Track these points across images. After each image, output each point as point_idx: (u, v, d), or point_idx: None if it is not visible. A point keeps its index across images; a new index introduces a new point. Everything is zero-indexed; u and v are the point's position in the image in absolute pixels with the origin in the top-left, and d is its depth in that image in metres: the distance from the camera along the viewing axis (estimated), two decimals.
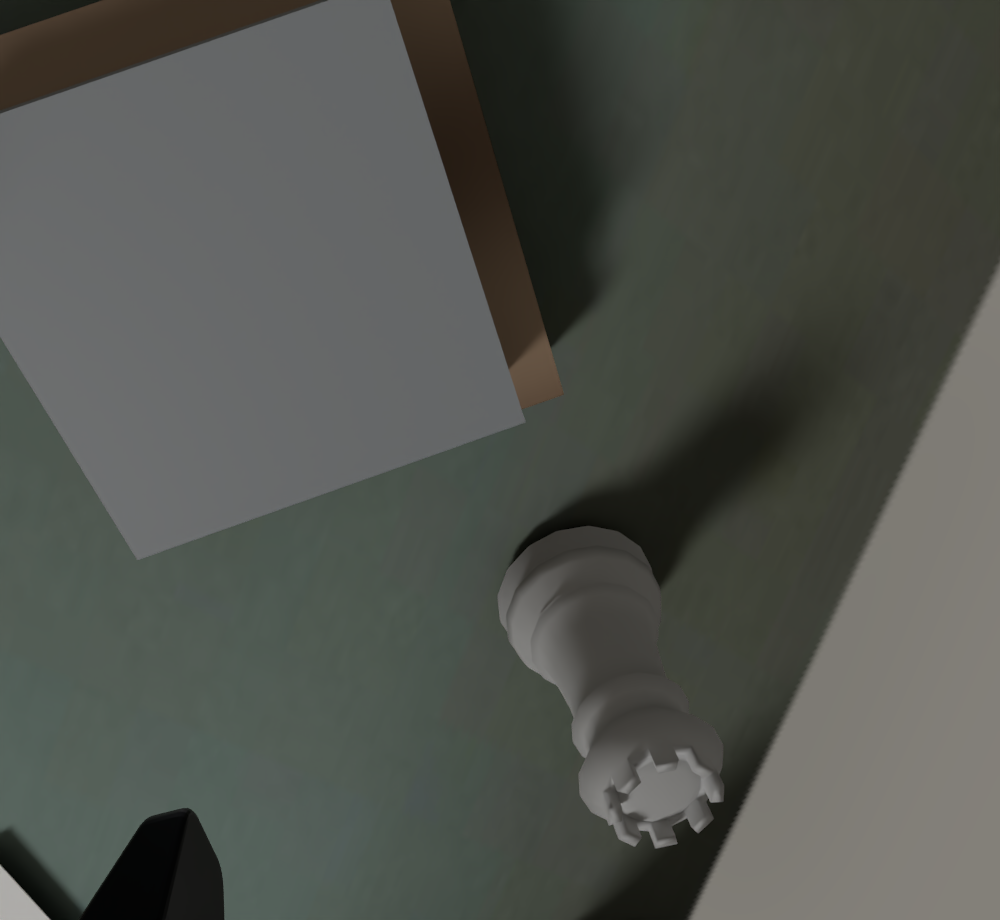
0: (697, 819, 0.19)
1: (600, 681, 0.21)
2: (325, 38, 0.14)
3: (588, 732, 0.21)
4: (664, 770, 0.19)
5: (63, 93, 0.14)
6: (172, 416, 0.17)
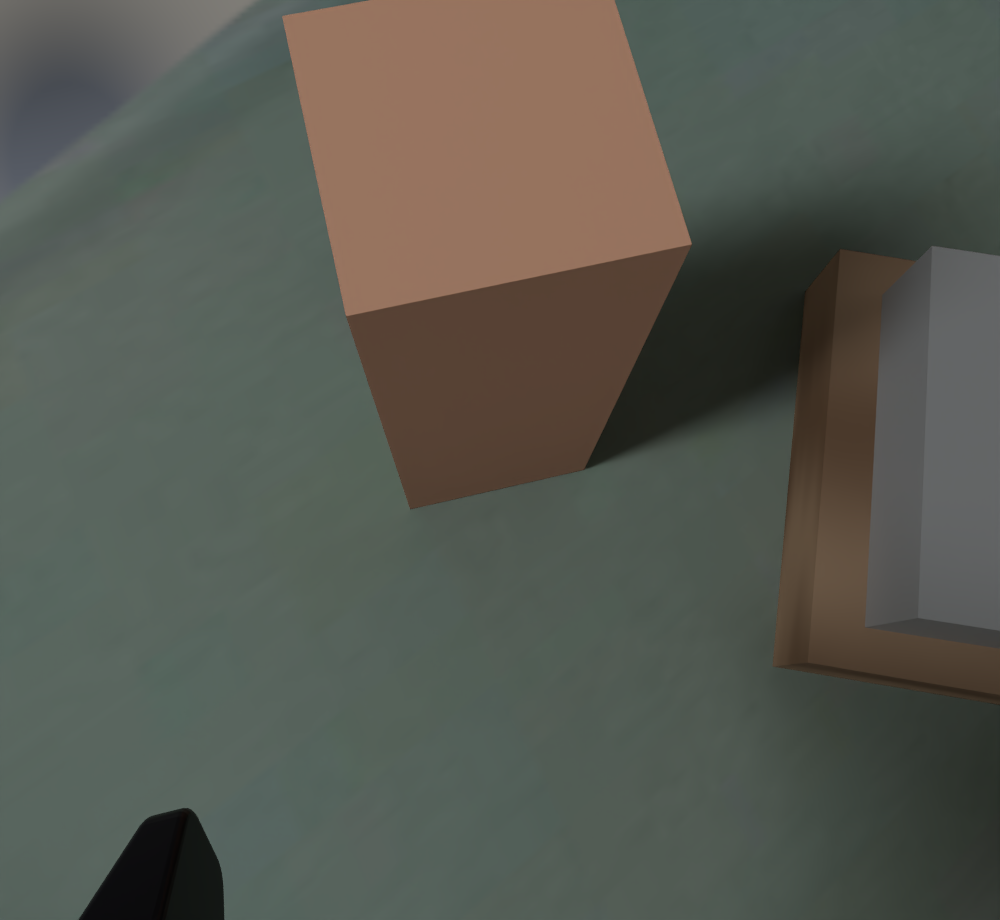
0: None
1: None
2: None
3: None
4: None
5: None
6: None
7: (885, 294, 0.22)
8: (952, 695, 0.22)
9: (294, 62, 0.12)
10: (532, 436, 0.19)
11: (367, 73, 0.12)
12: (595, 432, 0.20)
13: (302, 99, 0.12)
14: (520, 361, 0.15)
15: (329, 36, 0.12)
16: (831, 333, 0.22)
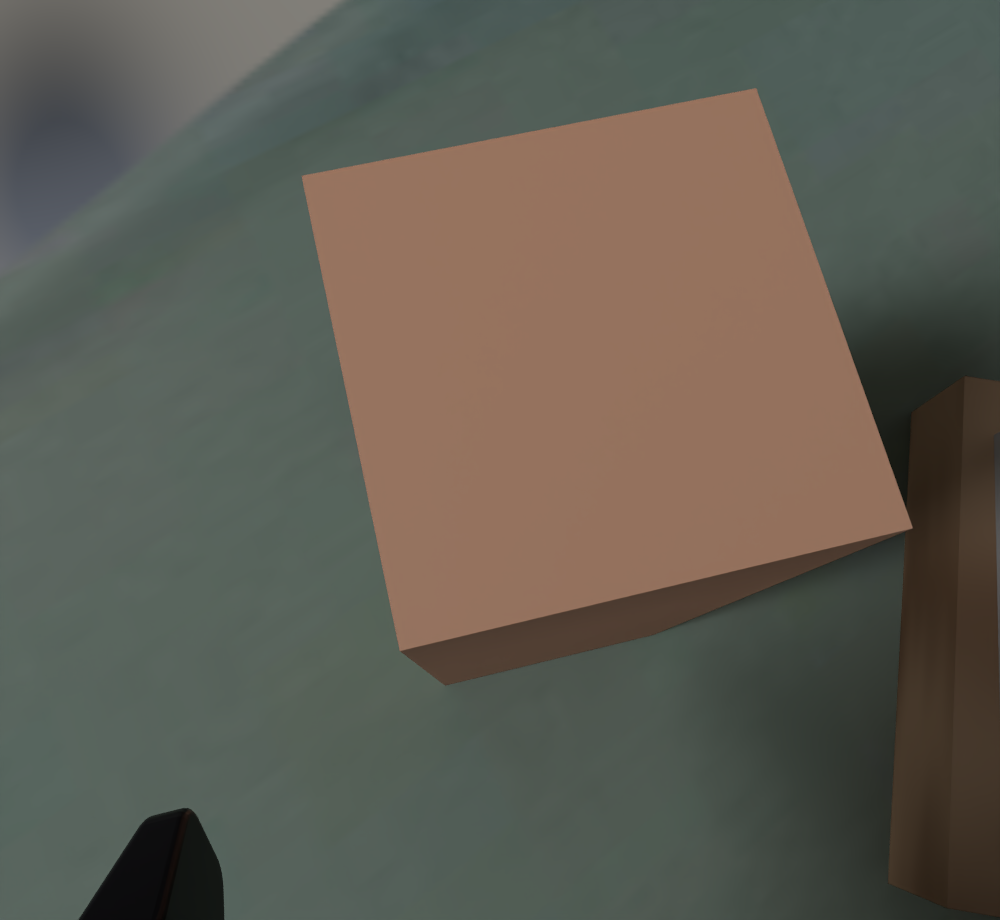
0: None
1: None
2: None
3: None
4: None
5: None
6: None
7: (998, 435, 0.18)
8: None
9: (319, 245, 0.09)
10: (607, 638, 0.15)
11: (426, 262, 0.08)
12: (681, 621, 0.16)
13: (331, 304, 0.08)
14: (623, 617, 0.11)
15: (369, 204, 0.09)
16: (956, 480, 0.18)
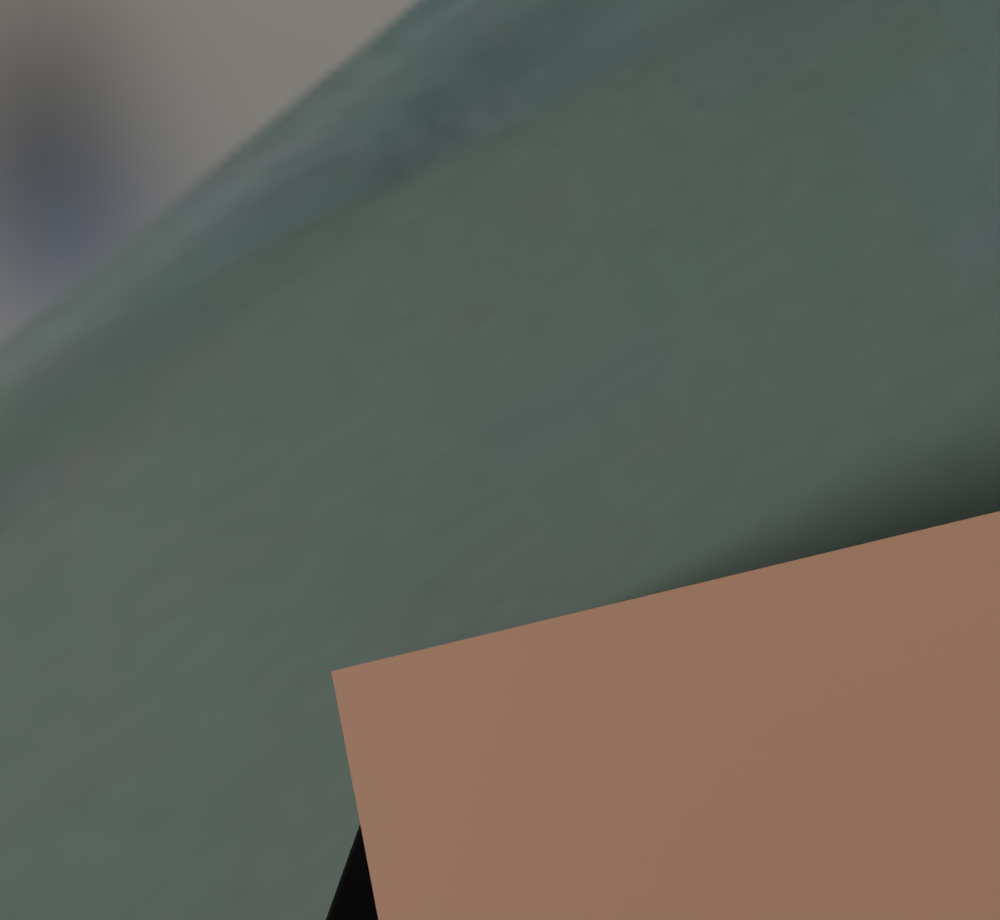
0: None
1: None
2: None
3: None
4: None
5: None
6: None
7: None
8: None
9: (374, 851, 0.04)
10: None
11: (621, 899, 0.04)
12: None
13: None
14: None
15: (485, 745, 0.04)
16: None
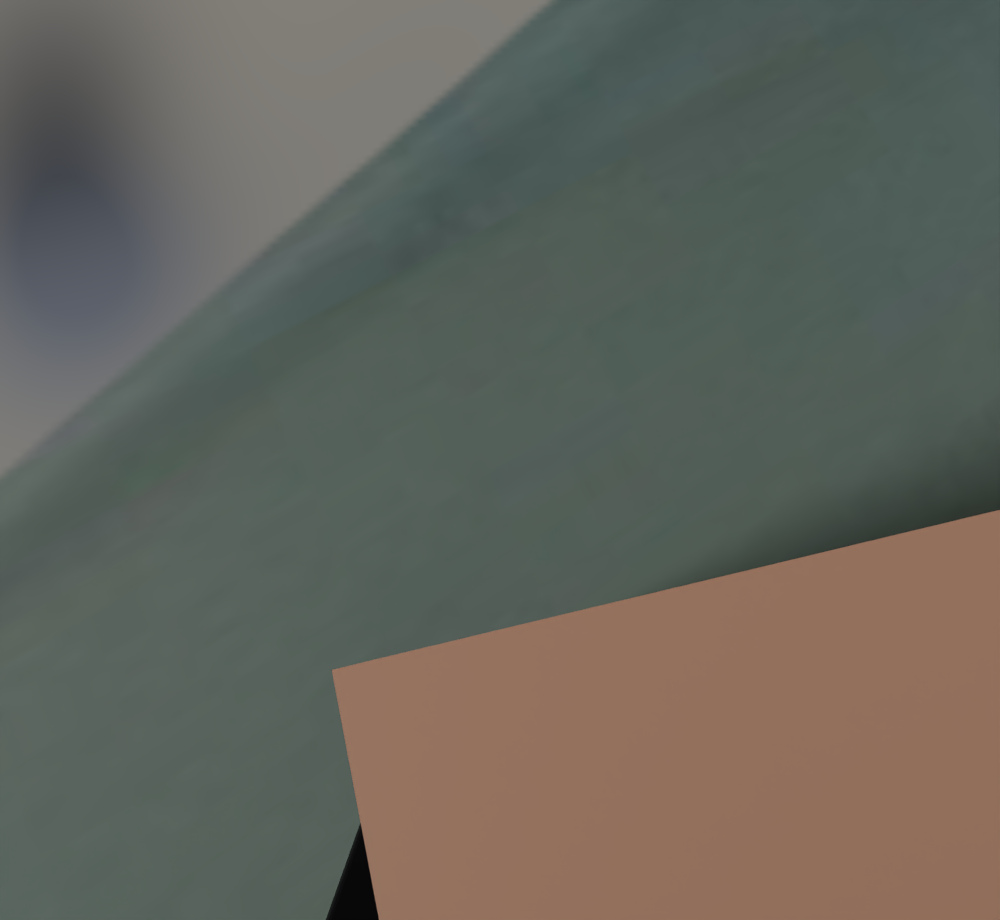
0: None
1: None
2: None
3: None
4: None
5: None
6: None
7: None
8: None
9: (375, 848, 0.04)
10: None
11: (621, 896, 0.04)
12: None
13: None
14: None
15: (487, 744, 0.04)
16: None
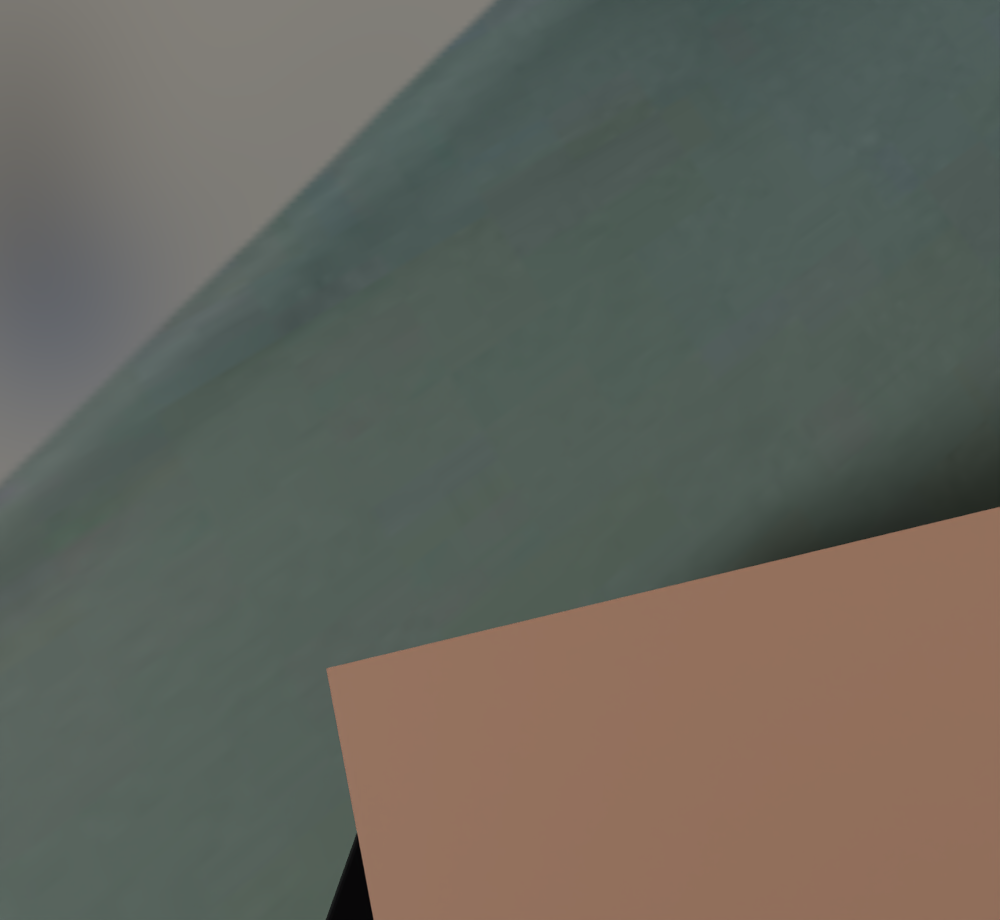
0: None
1: None
2: None
3: None
4: None
5: None
6: None
7: None
8: None
9: (368, 848, 0.04)
10: None
11: (615, 895, 0.04)
12: None
13: None
14: None
15: (480, 744, 0.04)
16: None
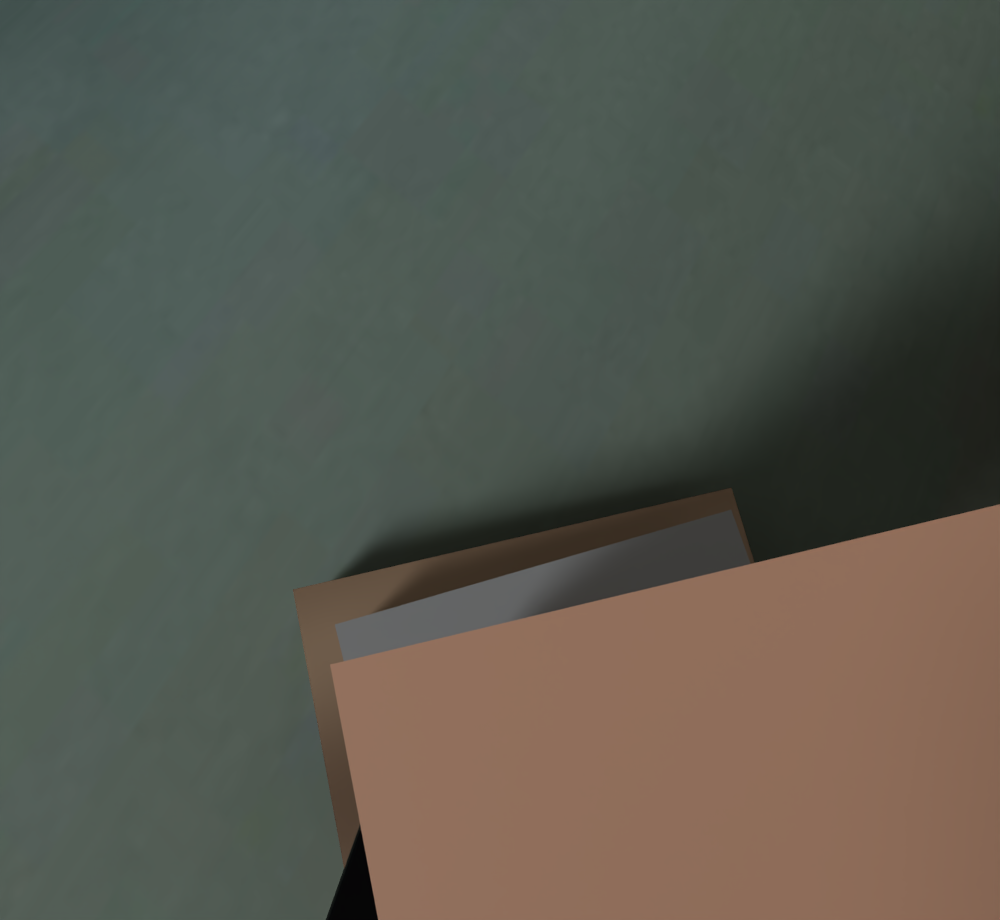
0: None
1: None
2: (684, 548, 0.18)
3: None
4: None
5: (478, 584, 0.18)
6: None
7: None
8: None
9: (372, 844, 0.04)
10: None
11: (620, 891, 0.04)
12: None
13: None
14: None
15: (485, 737, 0.04)
16: (312, 689, 0.20)
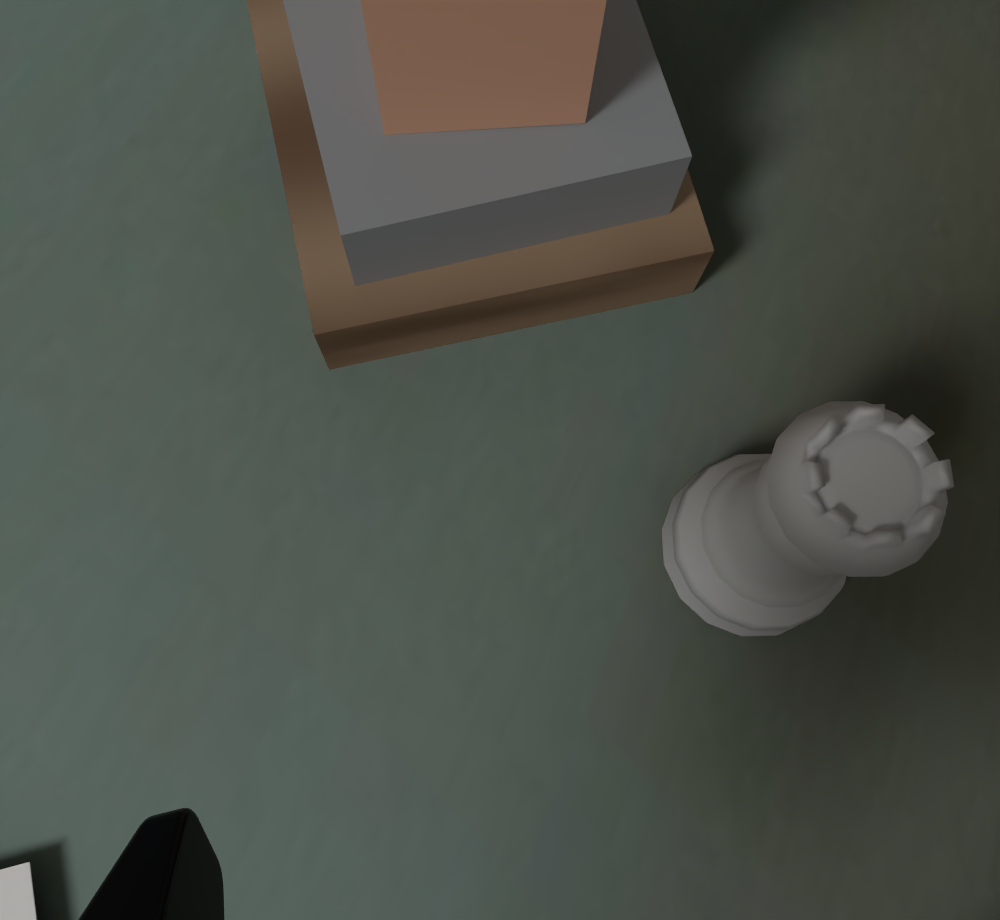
0: (925, 511, 0.15)
1: None
2: None
3: None
4: (869, 418, 0.16)
5: None
6: None
7: None
8: (485, 332, 0.24)
9: None
10: None
11: None
12: (596, 10, 0.17)
13: None
14: None
15: None
16: (259, 64, 0.24)
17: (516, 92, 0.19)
